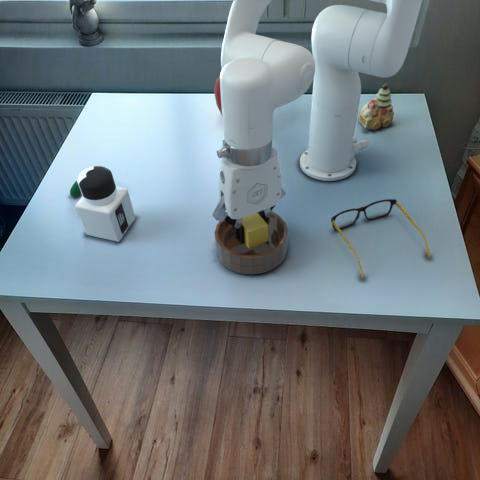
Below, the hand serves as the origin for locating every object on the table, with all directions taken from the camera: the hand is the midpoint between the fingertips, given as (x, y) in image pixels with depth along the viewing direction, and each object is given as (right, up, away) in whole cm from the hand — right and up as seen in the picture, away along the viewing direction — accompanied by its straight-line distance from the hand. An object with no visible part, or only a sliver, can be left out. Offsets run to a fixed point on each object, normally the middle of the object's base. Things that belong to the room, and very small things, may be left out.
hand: (250, 234), depth 88 cm
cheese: (0, 0, 0) cm, 0 cm away
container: (-29, +3, +10) cm, 30 cm away
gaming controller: (-34, +12, +16) cm, 40 cm away
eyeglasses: (+25, -1, +4) cm, 25 cm away
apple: (-2, +34, +31) cm, 46 cm away
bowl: (0, -3, +4) cm, 5 cm away
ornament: (+31, +32, +28) cm, 53 cm away
